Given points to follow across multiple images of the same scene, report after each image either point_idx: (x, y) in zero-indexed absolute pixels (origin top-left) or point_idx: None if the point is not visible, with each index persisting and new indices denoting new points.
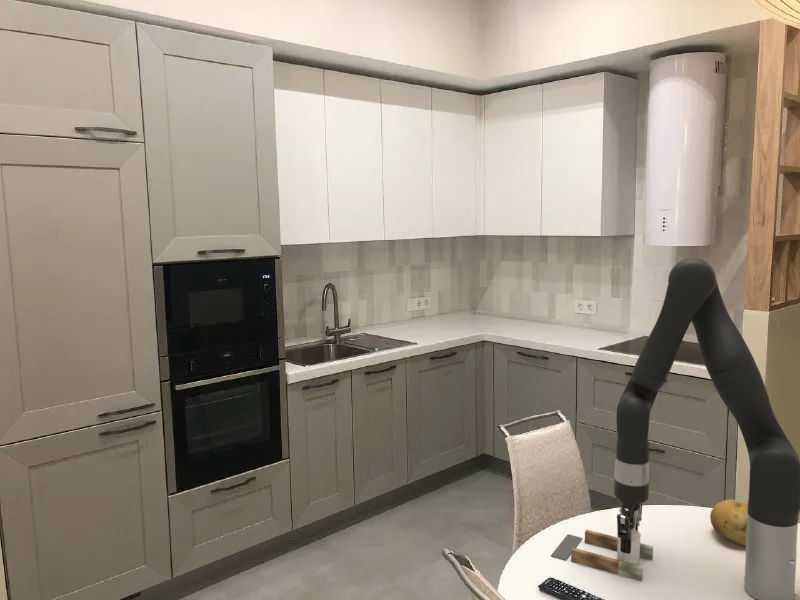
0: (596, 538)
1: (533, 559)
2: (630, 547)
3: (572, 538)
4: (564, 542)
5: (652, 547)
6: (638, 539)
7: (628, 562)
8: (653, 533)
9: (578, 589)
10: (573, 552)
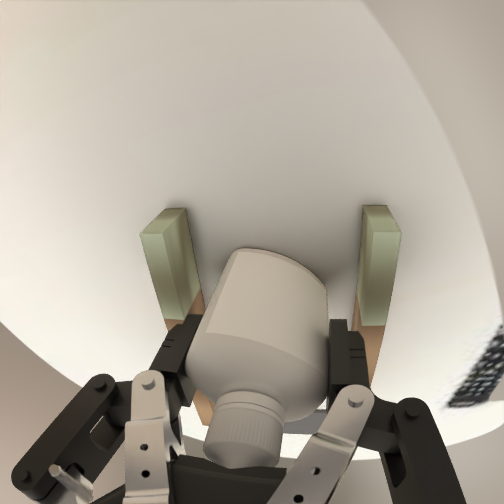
0: None
1: None
2: (346, 342)
3: None
4: None
5: (150, 234)
6: (243, 332)
7: (313, 287)
8: (32, 250)
9: (489, 350)
10: None
